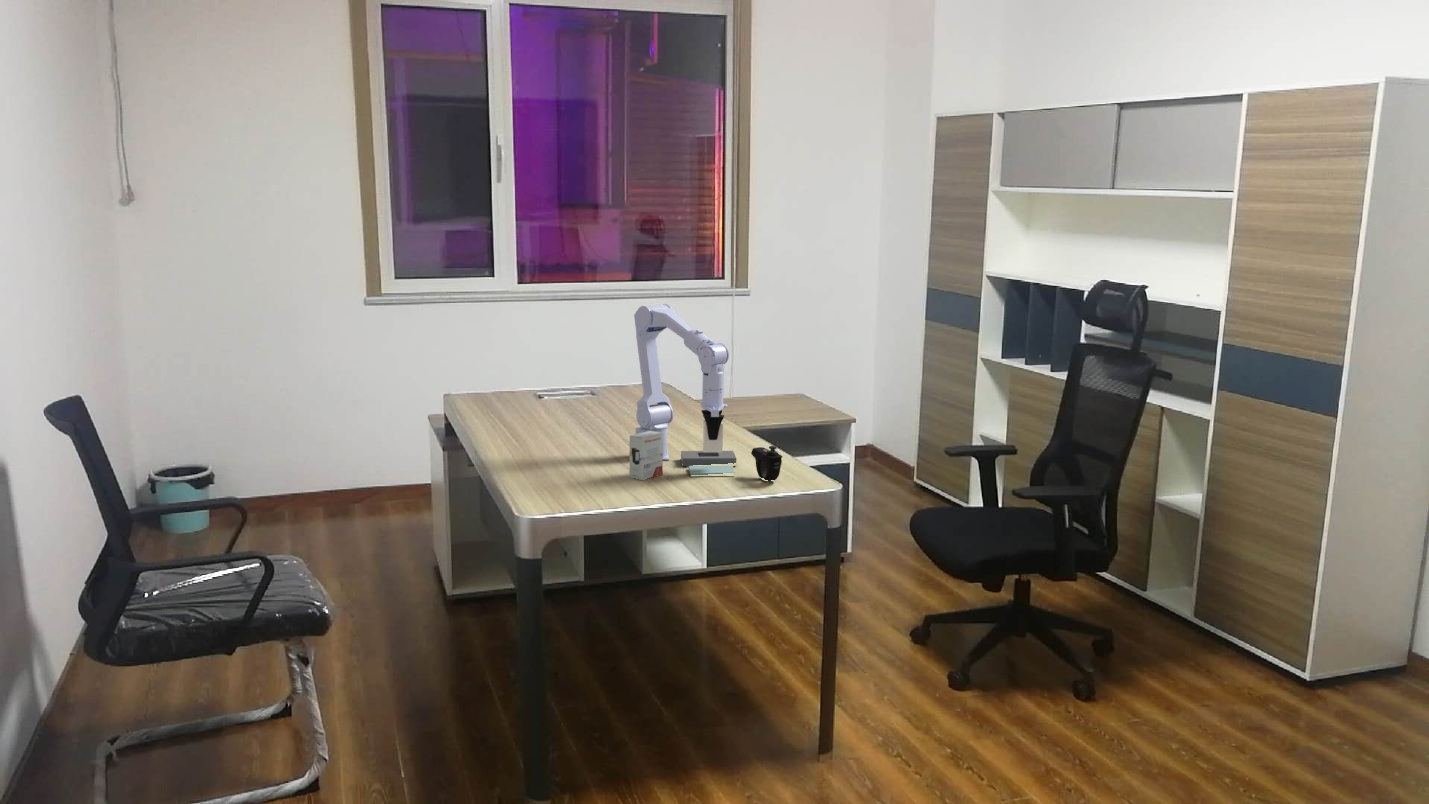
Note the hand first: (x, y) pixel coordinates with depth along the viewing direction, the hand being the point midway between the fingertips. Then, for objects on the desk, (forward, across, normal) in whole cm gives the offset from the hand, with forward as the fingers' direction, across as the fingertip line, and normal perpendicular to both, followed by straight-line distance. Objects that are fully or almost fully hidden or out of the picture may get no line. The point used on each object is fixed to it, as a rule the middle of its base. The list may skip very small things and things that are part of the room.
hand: (712, 437), depth 299 cm
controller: (+10, -8, -14) cm, 19 cm away
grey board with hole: (+10, +11, 0) cm, 15 cm away
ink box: (+10, -3, +18) cm, 21 cm away
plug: (+4, 0, 0) cm, 4 cm away
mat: (+10, 0, 0) cm, 10 cm away
